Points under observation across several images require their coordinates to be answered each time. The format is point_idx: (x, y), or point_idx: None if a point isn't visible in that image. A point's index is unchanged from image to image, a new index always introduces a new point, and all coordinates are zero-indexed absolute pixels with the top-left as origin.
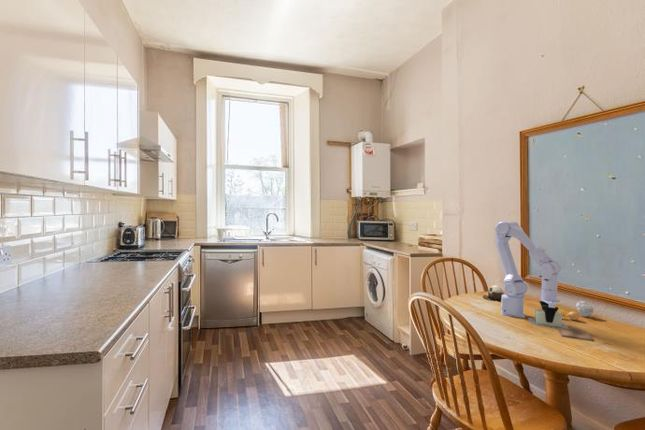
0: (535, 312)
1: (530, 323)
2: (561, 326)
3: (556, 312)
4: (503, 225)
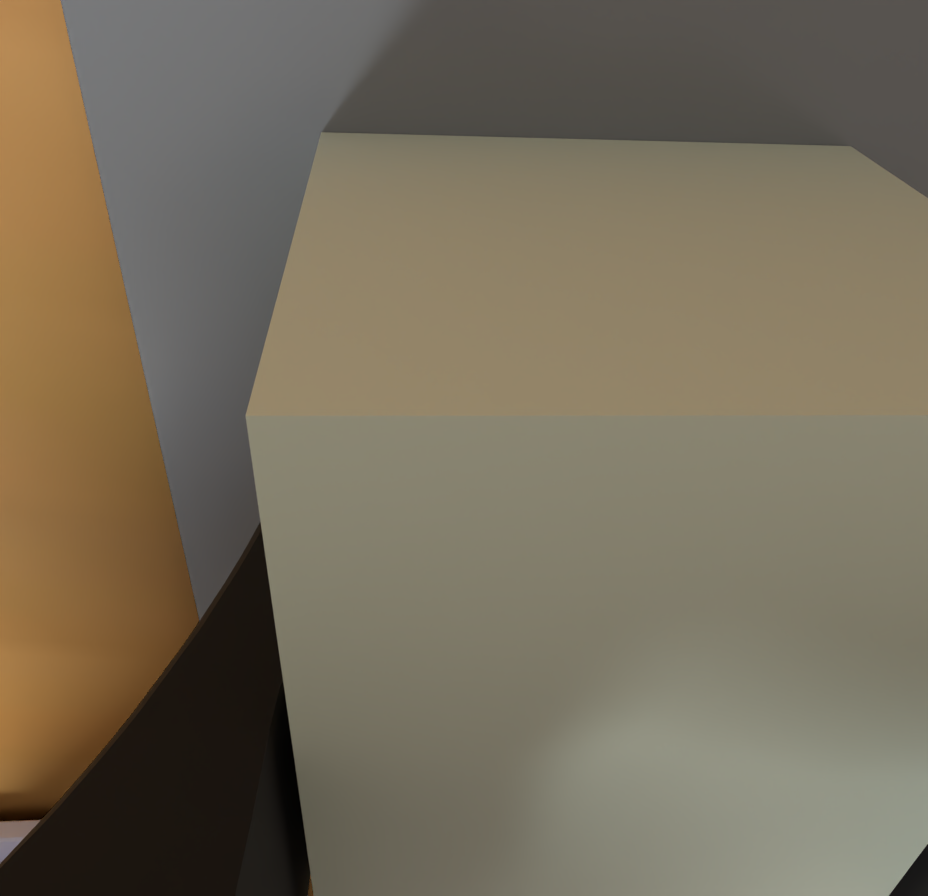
0: None
1: None
2: (854, 159)
3: (543, 591)
4: None
